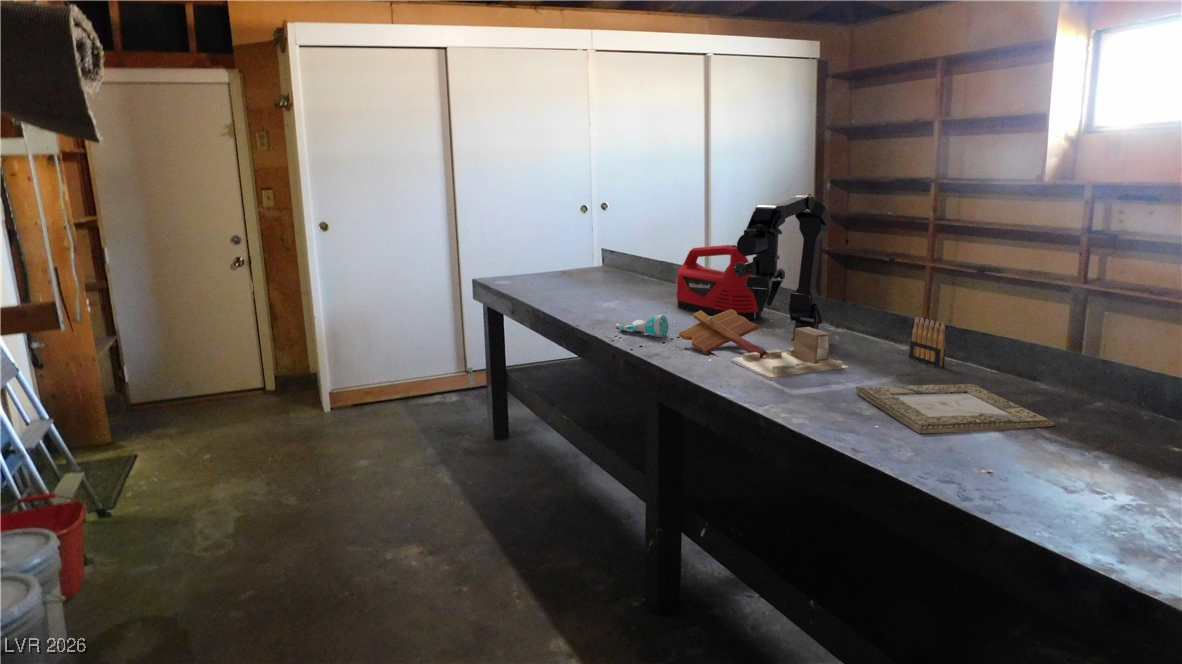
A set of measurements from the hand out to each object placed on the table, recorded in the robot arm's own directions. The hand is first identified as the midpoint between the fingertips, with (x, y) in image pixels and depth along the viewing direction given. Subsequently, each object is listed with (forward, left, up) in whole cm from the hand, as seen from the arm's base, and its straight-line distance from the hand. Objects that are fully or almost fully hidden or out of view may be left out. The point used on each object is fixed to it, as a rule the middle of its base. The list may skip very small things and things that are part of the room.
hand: (764, 308), depth 202 cm
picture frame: (-13, +53, -15) cm, 57 cm away
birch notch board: (-1, +11, -14) cm, 18 cm away
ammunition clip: (-37, +22, -14) cm, 45 cm away
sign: (+4, -11, -11) cm, 16 cm away
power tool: (-21, -62, -14) cm, 66 cm away
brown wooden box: (-8, +11, -13) cm, 18 cm away
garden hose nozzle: (+19, -41, -14) cm, 48 cm away
